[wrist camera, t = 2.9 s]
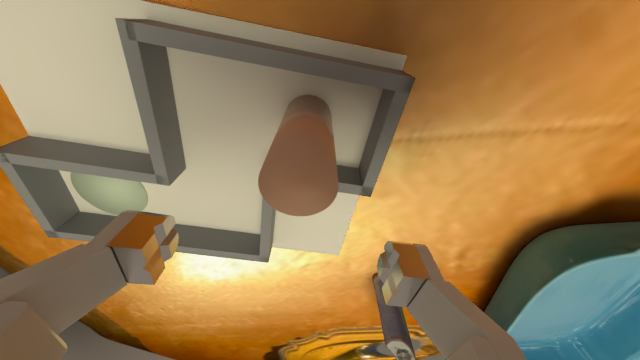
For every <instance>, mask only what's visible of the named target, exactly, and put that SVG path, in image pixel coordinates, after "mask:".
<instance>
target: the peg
mask: <svg viewBox="0 0 640 360" xmlns="http://www.w3.org/2000/svg"><path fill="white" fill-rule="evenodd" d="M258 186H259V190H260V193H261V195H262V197H263V198H264V200H265V201H266V202H267V203H268V204H269V205H270V206H271V207H273V208H274V209H276V210H277V211H279V212H281V213H284V214H287V215H291V216H310V215H314V214H317V213H319V212H321V211H323V210H325V209H326V208H328V207H329V206H330V205H331V204H332V203H333V201H334V200H335V198H336V196H337V193H338V189H339V182H338V172H337V163H336V153H335V144H334V135H333V125H332V116H331V111H330V109H329V107H328V105H327V104H326V103H325V102H324V101H323V100H322V99H321V98H319V97H317V96H314V95H302V96H299V97H296V98H295V99H293V100H292V101H291V102H290V103H289V105H288V106H287V109H286V111H285V113H284V116H283V118H282V120H281V123H280V125H279V127H278V130H277V132H276V135H275V137H274V139H273V142H272V144H271V147H270V149H269V151H268V154H267V156H266V158H265V161H264V163H263V166H262V168H261V170H260V173H259V177H258Z"/></svg>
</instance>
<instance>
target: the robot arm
mask: <svg viewBox="0 0 640 360" xmlns="http://www.w3.org/2000/svg"><path fill="white" fill-rule="evenodd" d="M175 224H176V222H175V218H174V216H171V215H164V214H157V213H150V212H143V211H134V210H125V211H122V212H121V213H120V214H119V215H118V216H117V217H116V218H115V219H114V220H112V221H111V222H110V223H109V224H108V225H107V226H106V227H105V228H104V229H103V230H102V231H101V232H100V233H99V234H97V235H96V236H95V237H94V238H93V239H92V240H91V241H90V242H89V243H88V244H87V245H84V244H81V245H79V246H76V247H74V248H72V249H69V250H67V251H65V252H62V253H60V254H58V255H55V256H53V257H51V258H49V259H46V260H44V261H42V262H39V263H37V264H35V265H32V266H30V267H28V268H25V269H23V270H21V271H19V272H16V273H14V274H12V275H9V276H7V277H5V278H2V279H0V360H60V359H61V357H62V356H63V355H64V353H65V352H66V351H67V345H66V344H65V343H64V341H63V340H62V339H61V338H60V337H59V336H58V334H59V333H60V332H62V331H63V330H65V329H66V328H67V327H69V326H70V325H71V324H73V323H74V322H76V321H77V320H78V319H80V318H81V317H83V316H84V315H85V314H87V313H88V312H90V311H91V310H92V309H94V308H95V307H97V306H98V305H99V304H101V303H102V302H104V301H105V300H106V299H108V298H109V297H111V296H112V295H113V294H115V293H116V292H118V291H119V290H120V289H122V288H123V287H125V286H126V285H127V283H134V284H150V285H154V284H155V283H156V281H157V280H158V278H159V276H160V275H161V273H162V272H163V270H164V269H165V265H164V262H165V261H166V260H168V259H170V258H171V257H172V256H173V254H174V253H175V251H176V248H177V245H178V241H179V235H178V232H177V231H176V230H175V229H174V228H173V227H174V225H175ZM384 249H385V252H384V253H382V254H380V257H379V259H378V265H377V270H378V276H379V278H380V280H381V281H382V282H383V283H384V285H383V287H382V292H383V296H384V300H385V304H386V305H389V306H398V307H407V310H408V311H409V312H410V314H411V315H412V316H413V317H414V319H415V320H416V321H417V323H418V324H419V325H420V327H421V328H422V329H423V331H424V332H425V333H426V335H427V336H428V337H429V339H430V340H431V341H432V342H433V344H434V345H435V346H436V348H437V349H438V350H439V352H440V353H441V354H442V356H443V357H444V358H445V360H527V359H526V357H525V356H524V354H523V352H522V351H521V349H520V348H519V346H518V345H517V343H516V341H515V340H514V338H513V337H511V336H510V335H509V334H508V333H507V332H506V331H505V330H503V329H502V328H501V327H500V326H499V325H498V324H497V323H495V322H494V321H493V320H492V319H491V318H490V317H489V316H487V315H486V314H485V313H484V312H483V311H482V310H480V309H479V308H478V307H477V306H476V305H475V304H474V303H472V302H471V301H470V300H469V299H468V298H467V297H466V296H464V295H463V294H462V293H461V292H460V291H459V290H458V289H456V288H455V287H454V286H453V285H452V284H451V283H450V282H447V281H445V280H444V278H443V277H442V275H441V273H440V271H439V269H438V267H437V265H436V263H435V261H434V259H433V257H432V255H431V253H430V251H429V249H428V247H427V246H426V245H422V244H411V243H404V242H394V241H388V242H387V243H386V244H385V246H384Z"/></svg>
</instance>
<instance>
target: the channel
mask: <svg viewBox="0 0 640 360" xmlns="http://www.w3.org/2000/svg"><path fill="white" fill-rule="evenodd" d="M406 58H407V56H406V55H403V54H398V53H394V52H389V51H384V50H379V49H374V48H370V47H365V46H360V45H355V44H350V43H346V42H341V41H336V40H331V39H327V38H322V37H317V36H312V35H307V34H303V33H298V32H293V31H288V30H284V29H279V28H274V27H269V26H264V25H260V24H255V23H250V22H245V21H240V20H236V19H231V18H226V17H221V16H217V15H212V14H207V13H202V12H197V11H193V10H188V9H183V8H178V7H174V6H169V5H164V4H159V3H154V2H150V1H145V0H0V84H1V86H2V87H3V89H4V91H5V93H6V95H7V96H8V98H9V100H10V102H11V104H12V105H13V107H14V109H15V111H16V113H17V114H18V116H19V118H20V120H21V122H22V123H23V125H24V127H25V129H26V131H27V133H28V134H29V136H27V137H25V138H22V139H19V140H17V141H14V142H11V143H9V144H6V145H4V146H1V147H0V167H1V168H2V170H3V171H4V172H5V174H6V175H7V177H8V178H9V180H10V181H11V183H12V184H13V186H14V187H15V189H16V190H17V192H18V193H19V195H20V196H21V197H22V199H23V200H24V202H25V203H26V205H27V206H28V208H29V209H30V211H31V212H32V214H33V215H34V217H35V218H36V220H37V221H38V222H39V224H40V225H41V227H42V228H43V230H44V231H45V233H46V234H47V236H48V237H53V238H62V239H70V240H79V241H88V242H90V241H91V240H92V239H93V238H94V237H95V236H96V235H97V234H99V233H100V232H101V231H102V230H103V229H104V228H105V227H106V226H107V225H108V224H109V223H110V222H111V221H112V220H114V219H115V218H116V217H117V216H118V215H114V214H110V213H107V212H105V211H102V210H100V209H98V208H96V207H94V206H93V205H91V204H90V203H88V202H87V201H86V200H84V199H83V198H82V197H81V196H80V195H79V194H78V192H77V191H76V190H75V188H74V187H73V185H72V182H71V178H70V174H71V172H74V173H81V174H88V175H96V176H103V177H110V178H117V179H124V180H131V181H138V182H141V183H142V184H143V186H144V187H145V189H146V191H147V194H148V203H147V206H146V207H145V208H144V209H143V210H142V211H143V212H150V213H157V214H164V215H171V216H174V218H175V222H176V224H175V225H174V227H173V228H174V229H175V230H176V231H177V232H178V235H179V241H178V245H177V248H176V251H175V252H182V253H191V254H199V255H208V256H216V257H225V258H234V259H242V260H251V261H259V262H268V261H269V256H270V252H271V248H272V247H276V248H284V249H292V250H300V251H309V252H317V253H325V254H333V255H339V253H340V250H341V248H342V245H343V242H344V239H345V236H346V233H347V230H348V227H349V224H350V221H351V218H352V215H353V213H354V210H355V207H356V204H357V201H358V198H359V195H362V196H368V197H371V194H372V191H373V189H374V186H375V183H376V181H377V178H378V176H379V173H380V170H381V168H382V165H383V162H384V160H385V157H386V154H387V152H388V149H389V146H390V144H391V141H392V139H393V136H394V133H395V131H396V128H397V125H398V123H399V120H400V117H401V115H402V112H403V109H404V107H405V104H406V101H407V99H408V96H409V94H410V91H411V88H412V86H413V83H414V80H415V78H414V77H412V76H411V75H409V74H407V73H405V72H404V71H402V70H403V67H404V64H405V61H406ZM302 95H314V96H317V97H319V98H321V99H322V100H323V101H324V102H325V103H326V104H327V105H328V107H329V109H330V111H331V116H332V125H333V135H334V144H335V153H336V163H337V172H338V182H339V189H338V193H337V196H336V198H335V200H334V201H333V203H332V204H331V205H330V206H329V207H328V208H326V209H325V210H323V211H321V212H319V213H317V214H314V215H310V216H291V215H287V214H284V213H281V212H279V211H277V210H276V209H274V208H273V207H271V206H270V205H269V204H268V203H267V202H266V201H265V200H264V198H263V197H262V195H261V193H260V190H259V186H258V177H259V173H260V170H261V168H262V166H263V163H264V161H265V158H266V156H267V154H268V151H269V149H270V147H271V144H272V142H273V139H274V137H275V135H276V132H277V130H278V127H279V125H280V123H281V120H282V118H283V116H284V113H285V111H286V109H287V106H288V105H289V103H290V102H291V101H292V100H293V99H295V98H296V97H299V96H302Z"/></svg>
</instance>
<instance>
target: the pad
mask: <svg viewBox="0 0 640 360" xmlns="http://www.w3.org/2000/svg"><path fill="white" fill-rule="evenodd" d="M70 178H71V182H72V185H73V187H74V188H75V190H76V191H77V192H78V194H79V195H80V196H81V197H82V198H83V199H84V200H86V201H87V202H88V203H90V204H91V205H93V206H94V207H96V208H98V209H100V210H102V211H105V212H107V213H110V214H114V215H119V214H120V213H121V212H122V211H125V210H134V211H142V210H143V209H144V208H145V207H146V206H147V203H148V194H147V191H146V189H145V187H144V186H143V184H142V183H141V182H138V181H131V180H124V179H117V178H110V177H103V176H96V175H88V174H81V173H74V172H71V174H70Z"/></svg>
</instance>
